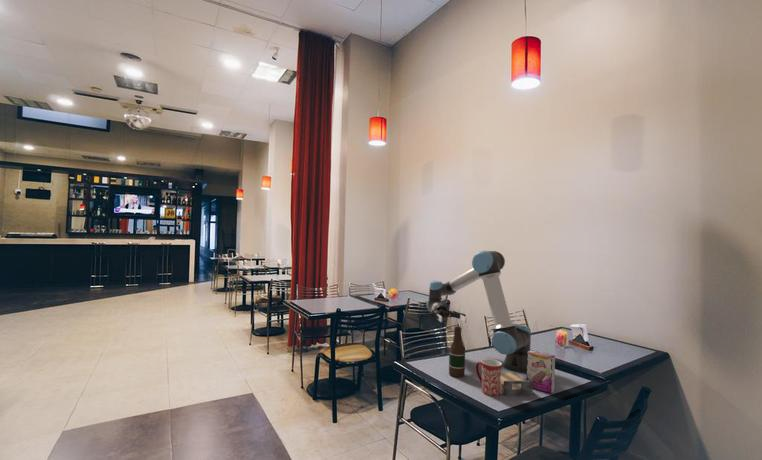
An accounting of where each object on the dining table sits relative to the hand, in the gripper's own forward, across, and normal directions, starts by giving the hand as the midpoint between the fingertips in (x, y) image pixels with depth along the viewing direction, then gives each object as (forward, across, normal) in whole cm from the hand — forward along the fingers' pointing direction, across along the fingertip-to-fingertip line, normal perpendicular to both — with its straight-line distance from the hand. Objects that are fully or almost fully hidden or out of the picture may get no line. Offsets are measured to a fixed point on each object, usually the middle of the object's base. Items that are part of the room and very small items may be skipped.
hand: (453, 319), depth 186 cm
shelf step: (+26, -19, -24) cm, 40 cm away
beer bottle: (+9, 0, -26) cm, 27 cm away
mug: (+29, -6, -25) cm, 39 cm away
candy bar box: (+29, -32, -24) cm, 50 cm away
